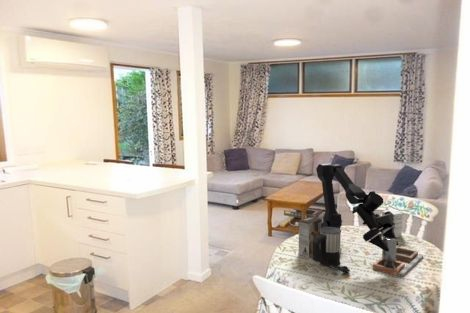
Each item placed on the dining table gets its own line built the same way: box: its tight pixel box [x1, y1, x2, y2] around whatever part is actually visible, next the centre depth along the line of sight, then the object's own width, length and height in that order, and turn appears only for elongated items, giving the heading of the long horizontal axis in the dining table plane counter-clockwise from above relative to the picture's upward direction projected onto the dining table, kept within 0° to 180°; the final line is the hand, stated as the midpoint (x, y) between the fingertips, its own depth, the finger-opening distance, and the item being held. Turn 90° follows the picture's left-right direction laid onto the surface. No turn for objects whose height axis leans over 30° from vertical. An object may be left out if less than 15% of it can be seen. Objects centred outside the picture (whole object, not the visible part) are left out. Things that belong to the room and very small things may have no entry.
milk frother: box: [312, 227, 351, 274], centre depth 153 cm, size 14×16×15 cm
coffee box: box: [298, 216, 323, 259], centre depth 167 cm, size 9×6×16 cm
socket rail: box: [372, 246, 424, 278], centre depth 157 cm, size 27×12×2 cm, turn 137°
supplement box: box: [381, 209, 404, 238], centre depth 191 cm, size 7×7×13 cm
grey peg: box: [381, 236, 398, 269], centre depth 151 cm, size 5×5×12 cm
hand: (393, 248), depth 149 cm, fingers open, 9 cm apart
